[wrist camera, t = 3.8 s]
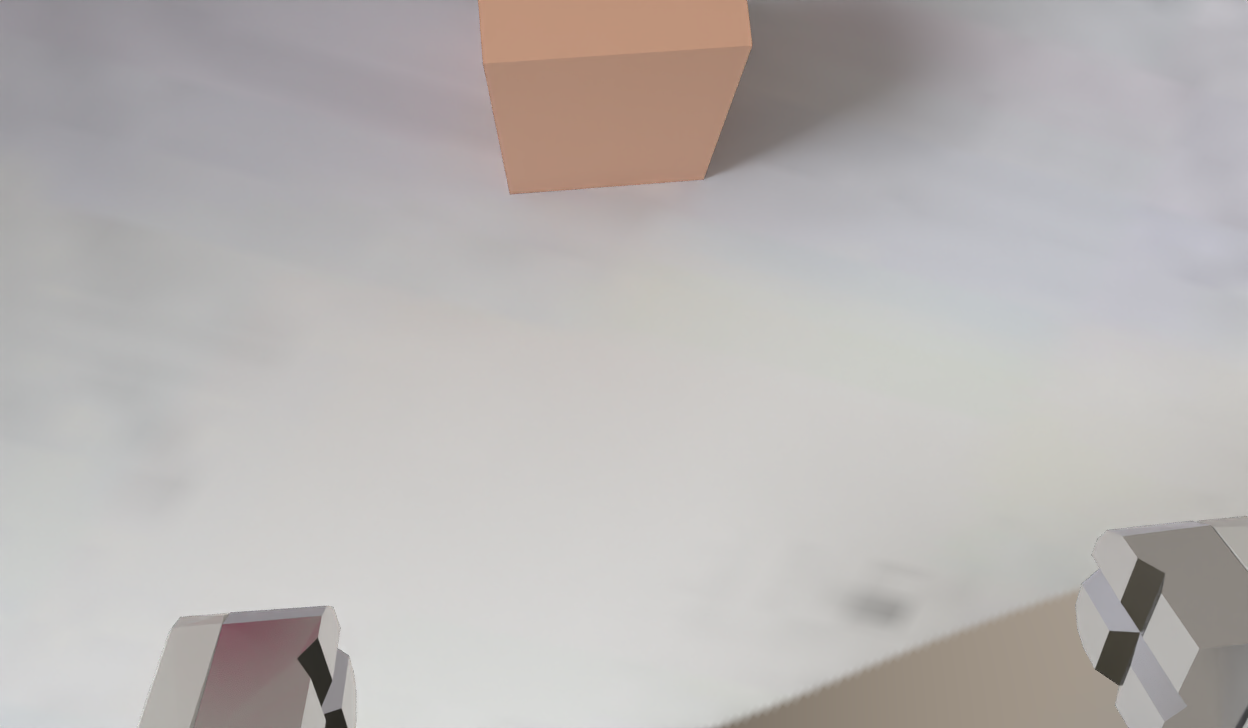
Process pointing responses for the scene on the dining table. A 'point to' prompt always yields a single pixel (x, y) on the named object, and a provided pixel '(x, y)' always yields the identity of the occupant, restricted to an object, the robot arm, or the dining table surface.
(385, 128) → the dining table surface
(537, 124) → the terracotta block
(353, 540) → the dining table surface
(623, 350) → the dining table surface
